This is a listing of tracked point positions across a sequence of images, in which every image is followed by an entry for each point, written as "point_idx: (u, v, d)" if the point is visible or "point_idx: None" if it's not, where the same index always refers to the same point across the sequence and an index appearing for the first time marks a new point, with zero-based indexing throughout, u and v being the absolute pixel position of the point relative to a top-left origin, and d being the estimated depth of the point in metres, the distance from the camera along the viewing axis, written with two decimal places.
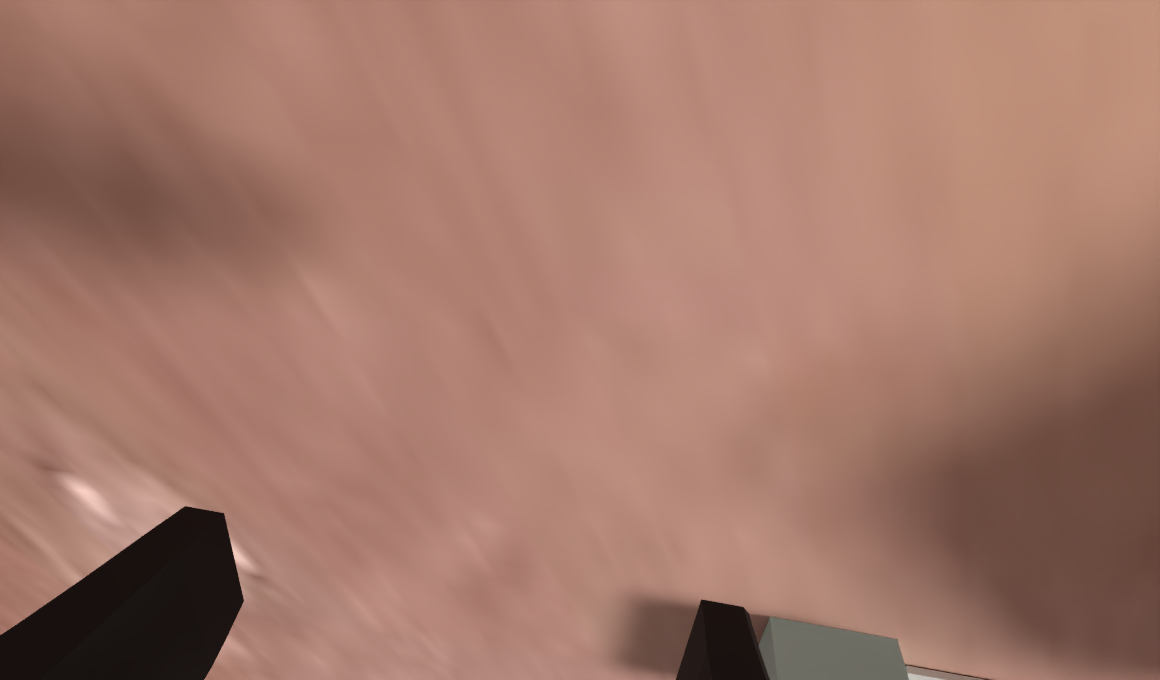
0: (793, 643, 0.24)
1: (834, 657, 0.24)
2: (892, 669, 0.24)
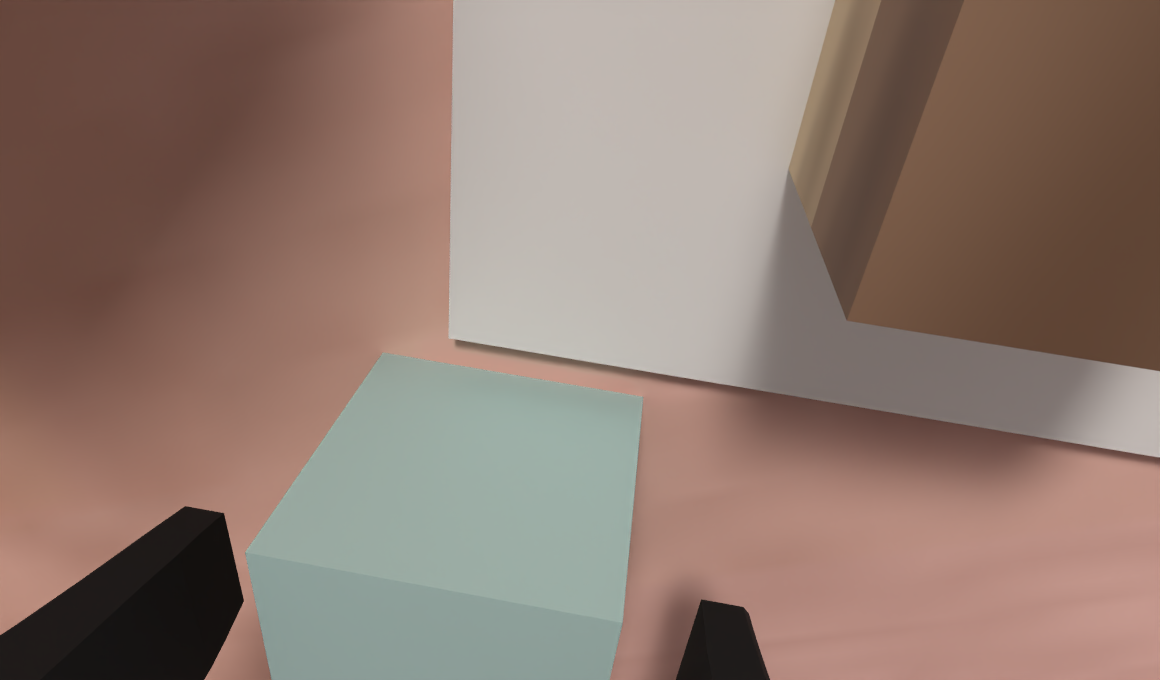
0: None
1: None
2: None
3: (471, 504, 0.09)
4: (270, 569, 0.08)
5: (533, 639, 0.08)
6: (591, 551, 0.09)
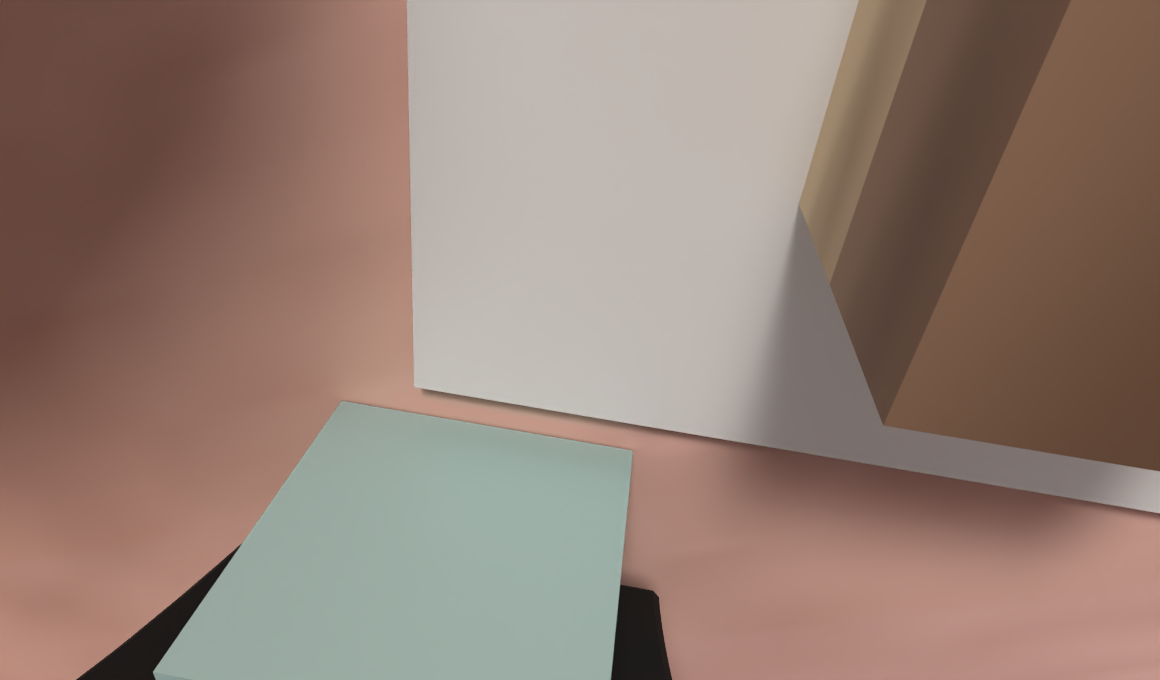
0: None
1: None
2: None
3: (429, 598, 0.08)
4: None
5: None
6: (567, 658, 0.08)
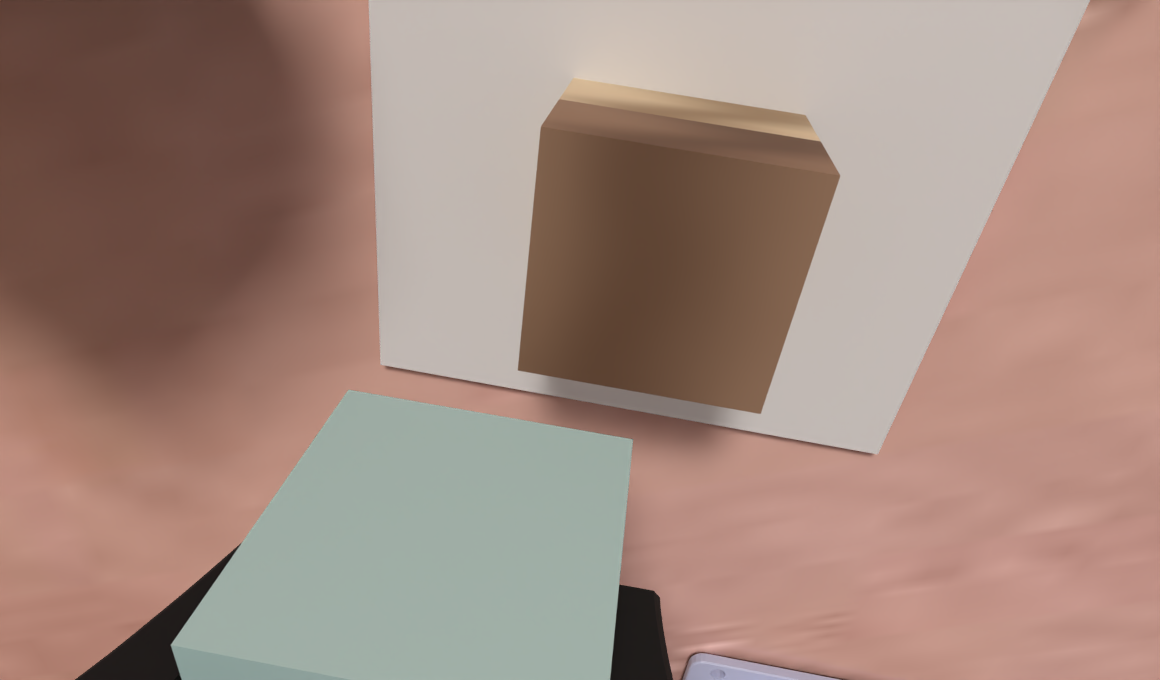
0: None
1: None
2: None
3: (436, 578, 0.08)
4: (201, 662, 0.07)
5: None
6: (570, 636, 0.08)
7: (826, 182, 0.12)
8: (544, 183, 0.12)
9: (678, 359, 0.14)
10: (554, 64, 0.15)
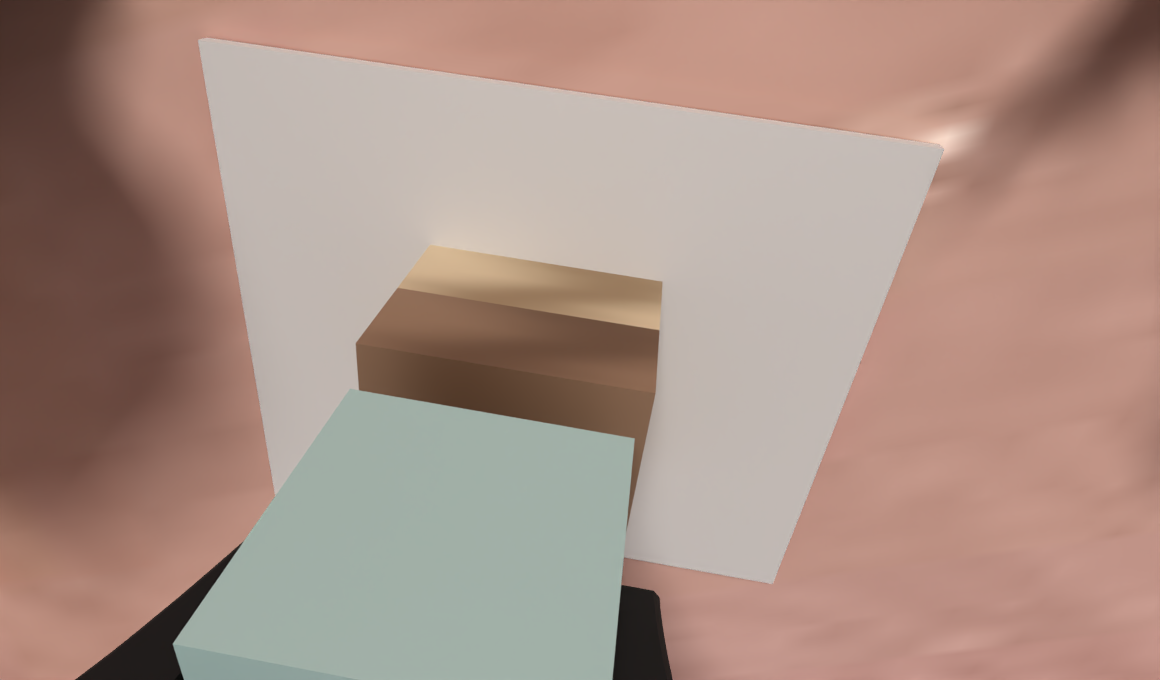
0: None
1: None
2: None
3: (438, 577, 0.08)
4: (203, 661, 0.07)
5: None
6: (573, 635, 0.08)
7: (642, 398, 0.11)
8: (367, 391, 0.12)
9: None
10: (409, 232, 0.15)
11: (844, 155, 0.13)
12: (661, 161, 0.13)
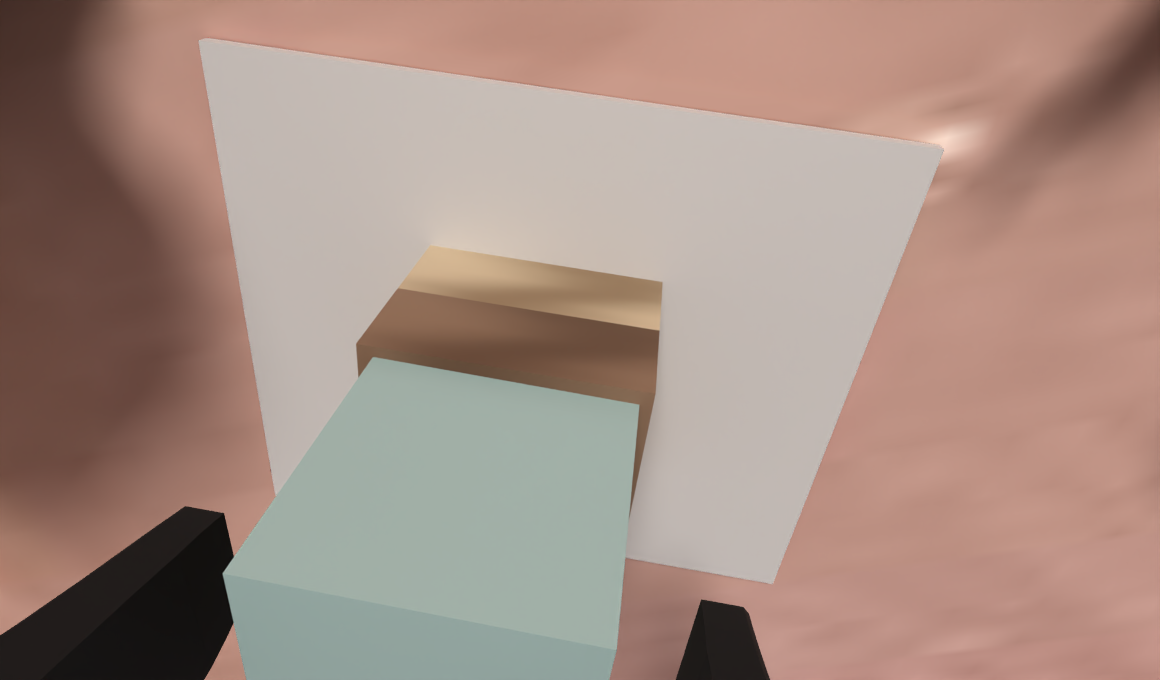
0: None
1: None
2: None
3: (460, 521, 0.09)
4: (249, 590, 0.08)
5: (523, 666, 0.08)
6: (584, 572, 0.09)
7: (643, 399, 0.11)
8: None
9: None
10: (410, 232, 0.15)
11: (844, 155, 0.13)
12: (661, 161, 0.13)
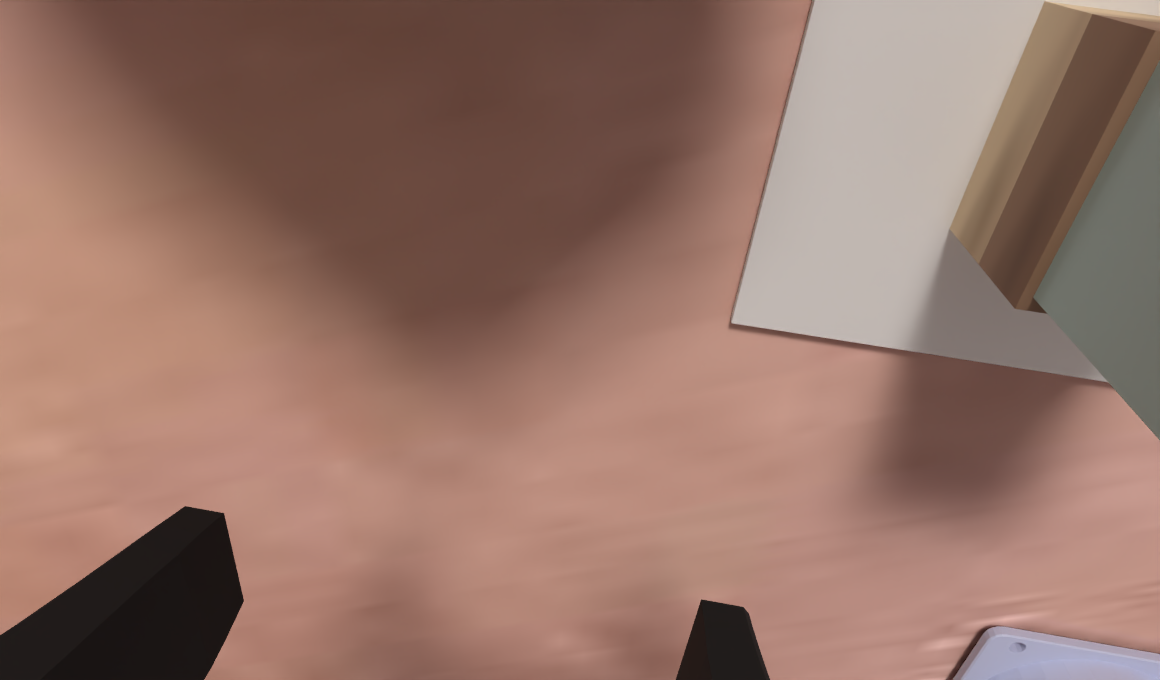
0: (1076, 289, 0.12)
1: (1126, 221, 0.11)
2: None
3: None
4: None
5: None
6: None
7: None
8: (1133, 95, 0.11)
9: None
10: None
11: None
12: None
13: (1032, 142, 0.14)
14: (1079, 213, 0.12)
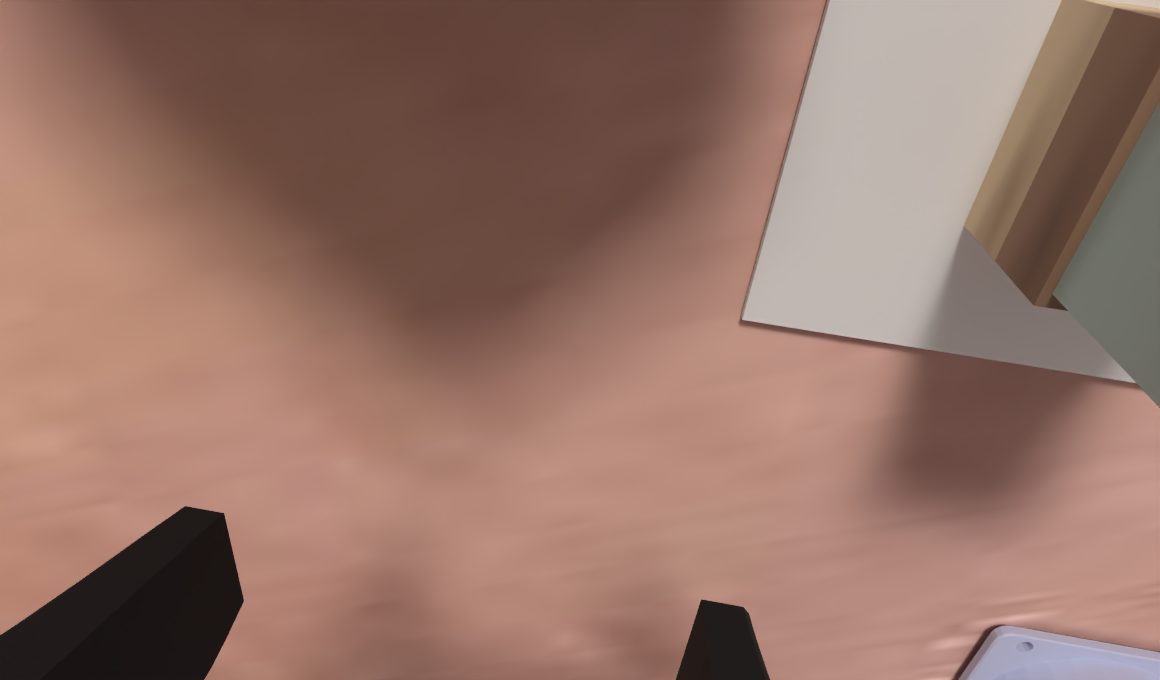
0: (1099, 285, 0.12)
1: (1151, 217, 0.11)
2: None
3: None
4: None
5: None
6: None
7: None
8: (1158, 89, 0.11)
9: None
10: None
11: None
12: None
13: (1051, 137, 0.14)
14: (1100, 208, 0.12)
